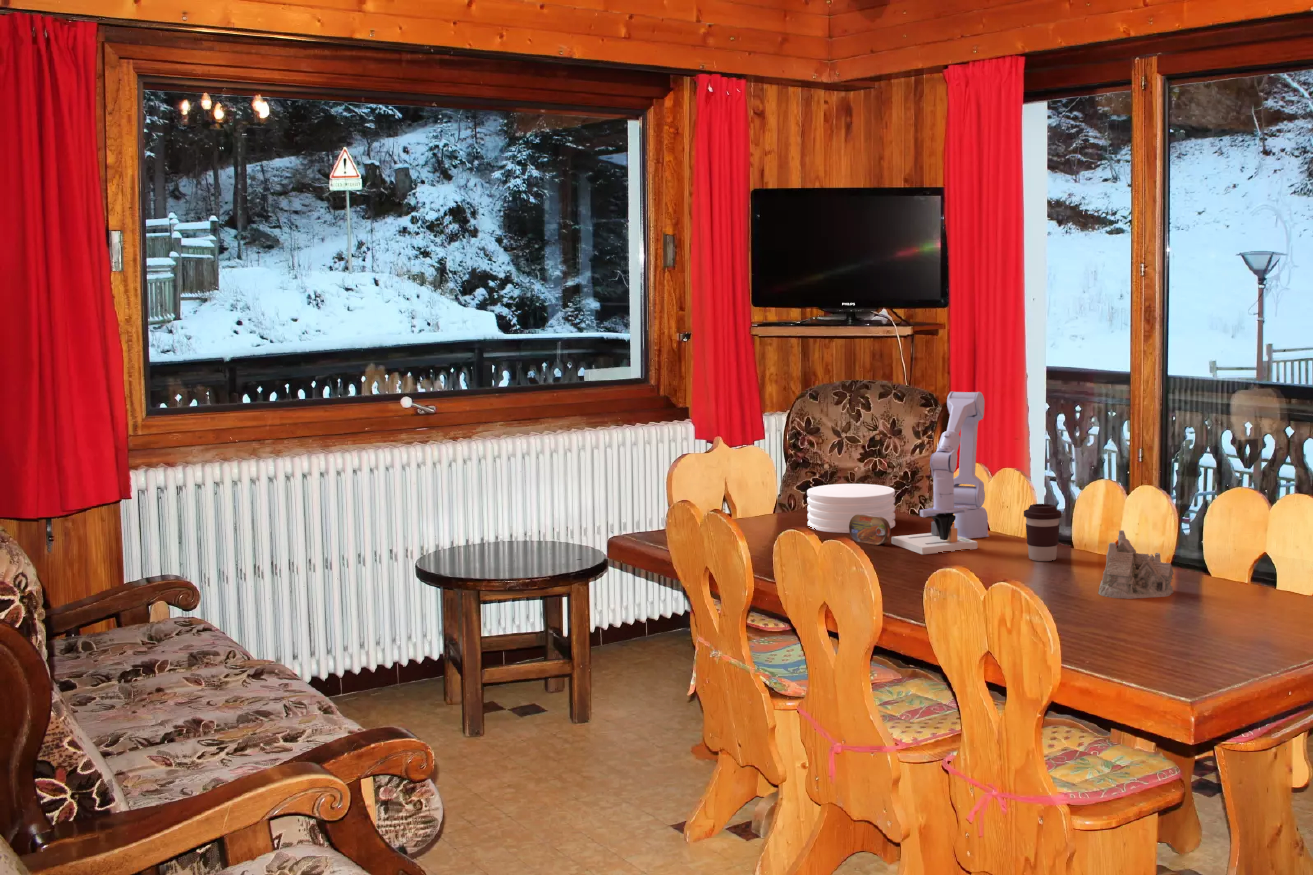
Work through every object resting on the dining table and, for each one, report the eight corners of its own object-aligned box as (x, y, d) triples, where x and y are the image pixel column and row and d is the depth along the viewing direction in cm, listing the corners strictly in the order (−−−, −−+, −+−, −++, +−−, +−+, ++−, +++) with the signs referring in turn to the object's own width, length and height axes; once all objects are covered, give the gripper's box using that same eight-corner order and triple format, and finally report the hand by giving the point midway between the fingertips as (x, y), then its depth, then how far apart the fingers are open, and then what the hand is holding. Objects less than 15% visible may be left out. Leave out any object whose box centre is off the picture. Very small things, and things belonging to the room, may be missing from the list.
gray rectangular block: (937, 533, 382) (937, 520, 381) (942, 535, 379) (942, 522, 378) (931, 534, 381) (931, 521, 381) (936, 535, 378) (936, 523, 378)
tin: (848, 540, 387) (848, 513, 386) (855, 538, 389) (855, 511, 388) (885, 547, 375) (884, 519, 374) (892, 545, 377) (892, 517, 376)
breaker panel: (944, 538, 385) (944, 531, 385) (977, 548, 368) (977, 541, 368) (891, 543, 380) (891, 536, 380) (922, 554, 363) (922, 547, 363)
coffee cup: (1063, 563, 346) (1063, 508, 344) (1025, 562, 348) (1025, 508, 346) (1059, 555, 356) (1059, 502, 354) (1022, 555, 358) (1022, 502, 356)
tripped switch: (952, 539, 372) (951, 526, 371) (957, 541, 369) (957, 528, 369) (945, 540, 371) (945, 527, 371) (951, 542, 368) (951, 529, 368)
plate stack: (800, 532, 403) (799, 496, 402) (815, 516, 430) (815, 483, 429) (889, 534, 395) (889, 497, 394) (899, 518, 422) (899, 484, 420)
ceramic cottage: (1089, 593, 311) (1094, 533, 309) (1118, 584, 323) (1123, 525, 321) (1152, 607, 300) (1158, 545, 298) (1179, 596, 312) (1185, 536, 310)
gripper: (928, 497, 362) (928, 544, 363) (973, 493, 366) (973, 539, 368) (915, 493, 368) (916, 539, 370) (959, 489, 373) (960, 535, 374)
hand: (943, 539), depth 369 cm, fingers closed
